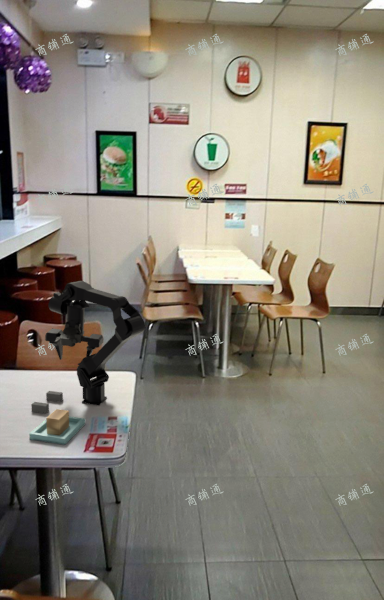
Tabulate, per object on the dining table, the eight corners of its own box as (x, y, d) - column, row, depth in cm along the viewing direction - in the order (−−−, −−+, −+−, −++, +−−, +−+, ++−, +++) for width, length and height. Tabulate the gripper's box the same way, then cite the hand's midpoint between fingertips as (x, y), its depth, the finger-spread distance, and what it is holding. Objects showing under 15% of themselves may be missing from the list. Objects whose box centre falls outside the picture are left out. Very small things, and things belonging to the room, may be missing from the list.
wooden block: (69, 426, 147) (68, 410, 146) (59, 435, 141) (58, 419, 140) (57, 424, 148) (56, 409, 147) (46, 433, 142) (46, 417, 141)
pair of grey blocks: (62, 399, 166) (62, 392, 166) (45, 413, 156) (45, 406, 155) (49, 397, 167) (49, 390, 167) (31, 411, 157) (31, 404, 156)
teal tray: (85, 423, 150) (85, 418, 149) (64, 444, 137) (64, 438, 137) (52, 419, 152) (52, 413, 152) (29, 439, 140) (29, 433, 139)
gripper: (38, 321, 157) (38, 366, 162) (95, 329, 156) (93, 374, 160) (52, 312, 168) (51, 354, 172) (104, 319, 167) (102, 361, 171)
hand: (73, 361), depth 169 cm, fingers open, 9 cm apart
